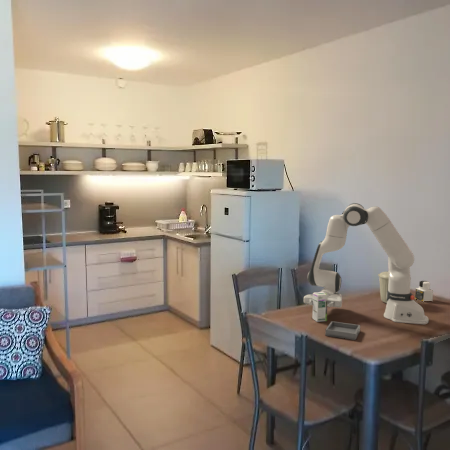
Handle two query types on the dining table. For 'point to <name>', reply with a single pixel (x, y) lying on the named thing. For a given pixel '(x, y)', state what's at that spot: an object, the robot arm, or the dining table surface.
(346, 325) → the tray
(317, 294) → the syrup box
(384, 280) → the canister
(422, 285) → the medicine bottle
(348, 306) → the dining table surface
